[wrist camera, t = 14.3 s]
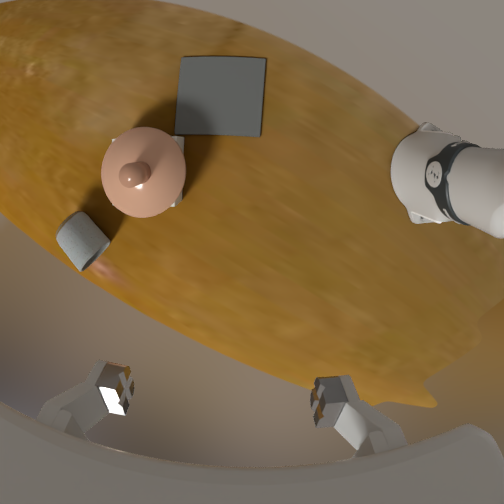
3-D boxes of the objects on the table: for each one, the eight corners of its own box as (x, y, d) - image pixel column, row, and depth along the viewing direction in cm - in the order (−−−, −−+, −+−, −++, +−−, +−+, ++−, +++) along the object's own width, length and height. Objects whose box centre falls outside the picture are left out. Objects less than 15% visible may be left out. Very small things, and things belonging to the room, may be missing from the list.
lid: (188, 125, 34) (180, 122, 30) (185, 217, 39) (177, 226, 34) (104, 130, 34) (88, 129, 29) (105, 215, 38) (90, 223, 34)
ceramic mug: (87, 203, 42) (63, 214, 35) (116, 235, 45) (96, 251, 38) (61, 241, 45) (39, 256, 38) (88, 271, 47) (69, 290, 40)
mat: (265, 59, 35) (265, 58, 35) (259, 137, 40) (259, 136, 39) (182, 58, 35) (181, 57, 34) (175, 134, 39) (174, 134, 39)
